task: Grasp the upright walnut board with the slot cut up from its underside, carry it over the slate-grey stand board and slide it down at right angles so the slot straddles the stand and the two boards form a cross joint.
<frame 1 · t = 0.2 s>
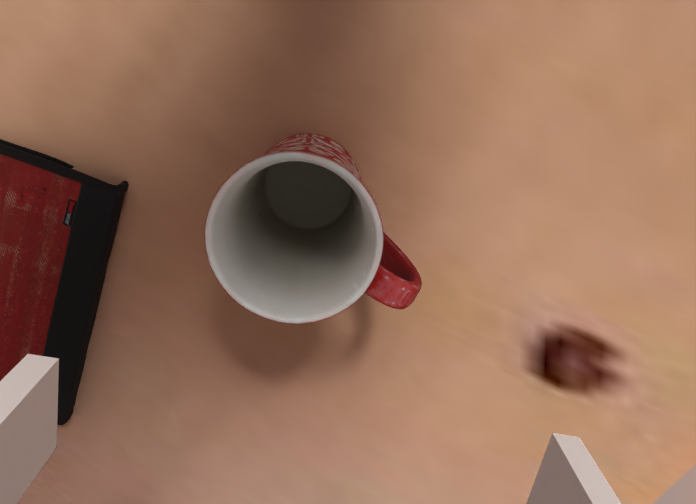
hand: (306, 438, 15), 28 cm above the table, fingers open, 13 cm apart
mug: (327, 197, 42), on the table
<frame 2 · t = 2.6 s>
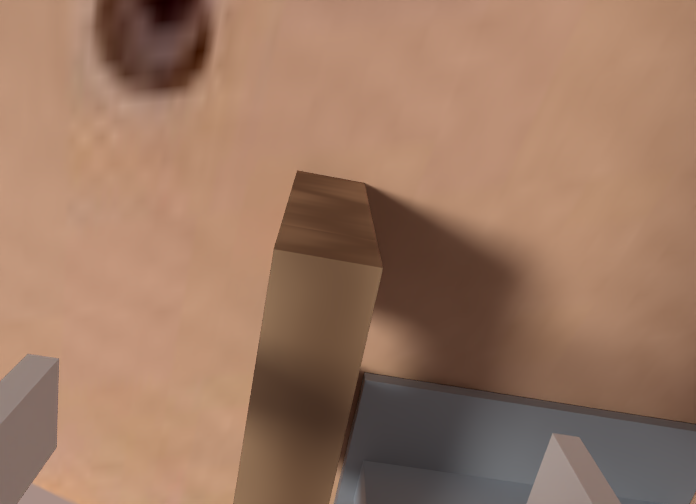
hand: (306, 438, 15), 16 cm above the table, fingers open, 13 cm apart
stand board: (511, 492, 36), on the table
slotted board: (305, 315, 32), on the table
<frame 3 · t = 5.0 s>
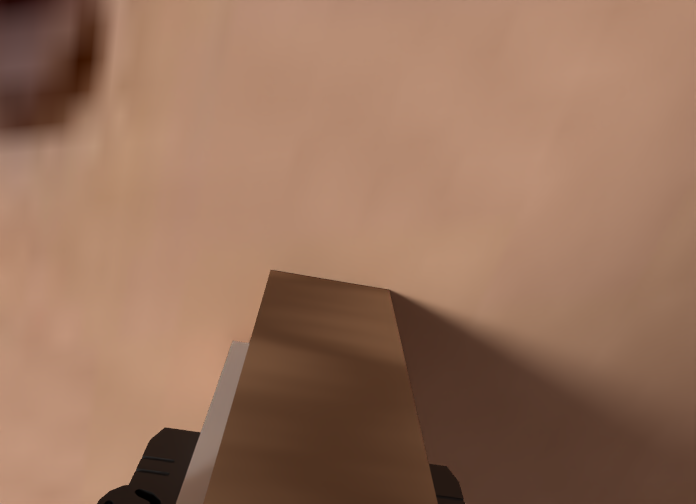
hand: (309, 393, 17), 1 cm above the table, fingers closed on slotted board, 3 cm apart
slotted board: (288, 496, 19), on the table, touching gripper
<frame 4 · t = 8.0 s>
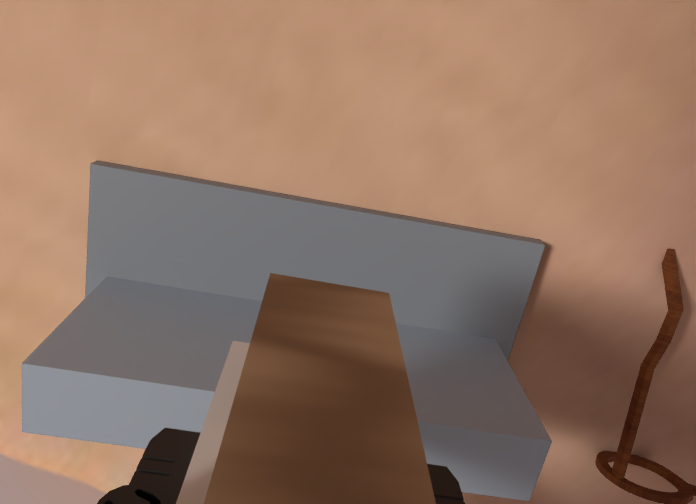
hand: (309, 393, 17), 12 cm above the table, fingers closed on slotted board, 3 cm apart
stand board: (303, 327, 30), on the table
slotted board: (287, 499, 19), point 12 cm above the table, touching gripper
when the fingers open (2 cm above the table, at t = 11.1 s): slotted board stays where it is, resting on stand board.
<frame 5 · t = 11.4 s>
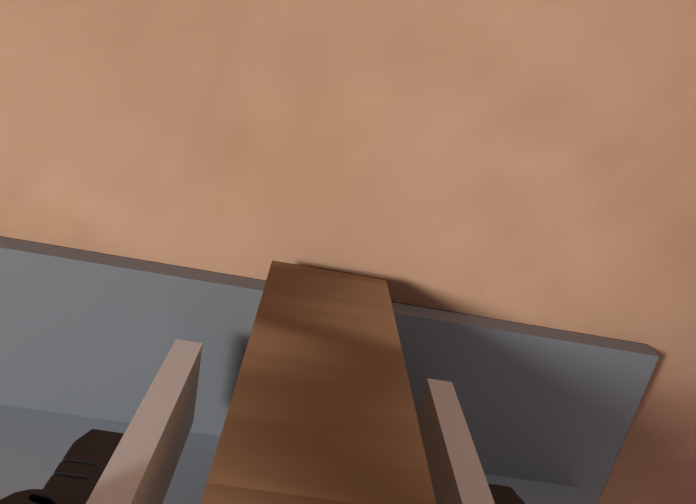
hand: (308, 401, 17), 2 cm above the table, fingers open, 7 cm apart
stand board: (291, 466, 21), on the table
slotted board: (288, 481, 20), point 1 cm above the table, touching stand board
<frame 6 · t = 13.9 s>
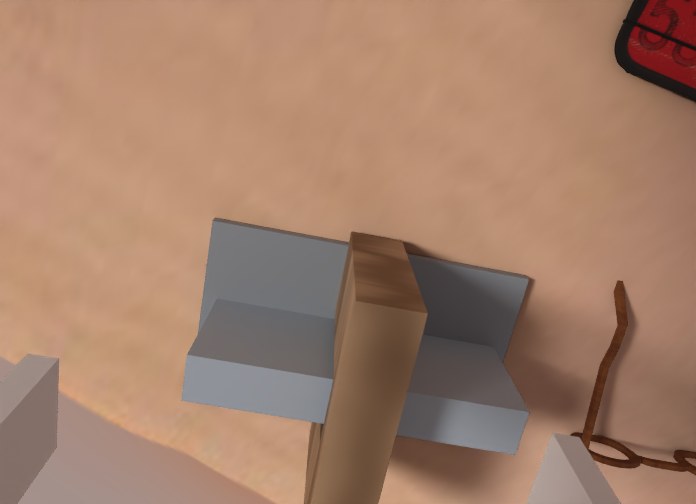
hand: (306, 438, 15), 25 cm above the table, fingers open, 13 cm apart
stand board: (353, 336, 42), on the table
glasses: (665, 370, 44), on the table
slotted board: (353, 341, 41), point 1 cm above the table, touching stand board
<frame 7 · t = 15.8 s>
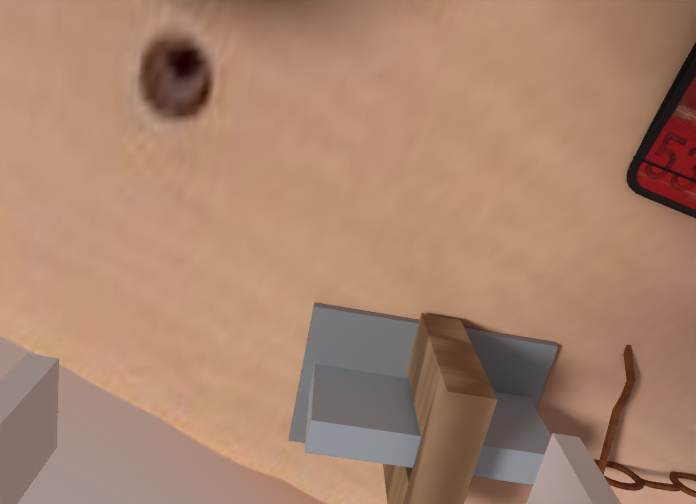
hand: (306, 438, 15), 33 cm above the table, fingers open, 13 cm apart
stand board: (418, 389, 53), on the table
glasses: (663, 410, 55), on the table
slotted board: (419, 394, 52), point 1 cm above the table, touching stand board
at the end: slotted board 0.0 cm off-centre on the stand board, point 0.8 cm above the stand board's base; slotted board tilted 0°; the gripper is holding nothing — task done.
